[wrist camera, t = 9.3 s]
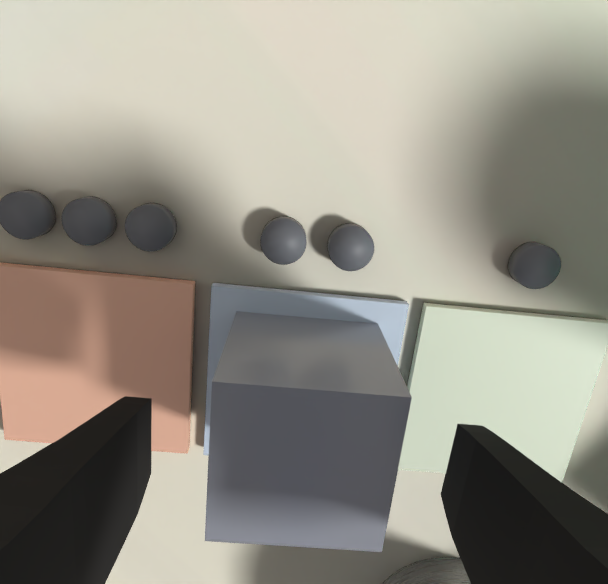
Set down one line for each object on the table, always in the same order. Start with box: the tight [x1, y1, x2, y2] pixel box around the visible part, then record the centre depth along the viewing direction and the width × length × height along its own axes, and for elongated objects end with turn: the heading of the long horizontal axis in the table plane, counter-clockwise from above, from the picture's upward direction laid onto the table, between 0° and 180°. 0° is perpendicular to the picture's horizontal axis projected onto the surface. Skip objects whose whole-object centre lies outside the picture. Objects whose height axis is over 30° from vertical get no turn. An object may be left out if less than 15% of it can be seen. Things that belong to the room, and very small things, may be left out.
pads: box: [0, 190, 608, 482], centre depth 13 cm, size 8×18×1 cm, turn 84°
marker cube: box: [205, 311, 412, 552], centre depth 12 cm, size 4×4×4 cm
